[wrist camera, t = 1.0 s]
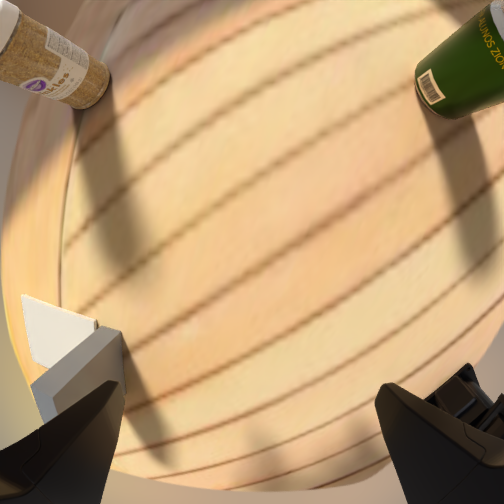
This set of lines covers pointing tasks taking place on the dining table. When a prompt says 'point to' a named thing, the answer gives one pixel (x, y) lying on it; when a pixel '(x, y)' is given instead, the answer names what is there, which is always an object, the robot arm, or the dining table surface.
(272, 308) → the dining table surface
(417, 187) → the dining table surface
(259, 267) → the dining table surface
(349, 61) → the dining table surface
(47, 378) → the slate tile
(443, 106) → the beer can
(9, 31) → the sprinkles bottle
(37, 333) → the plate
